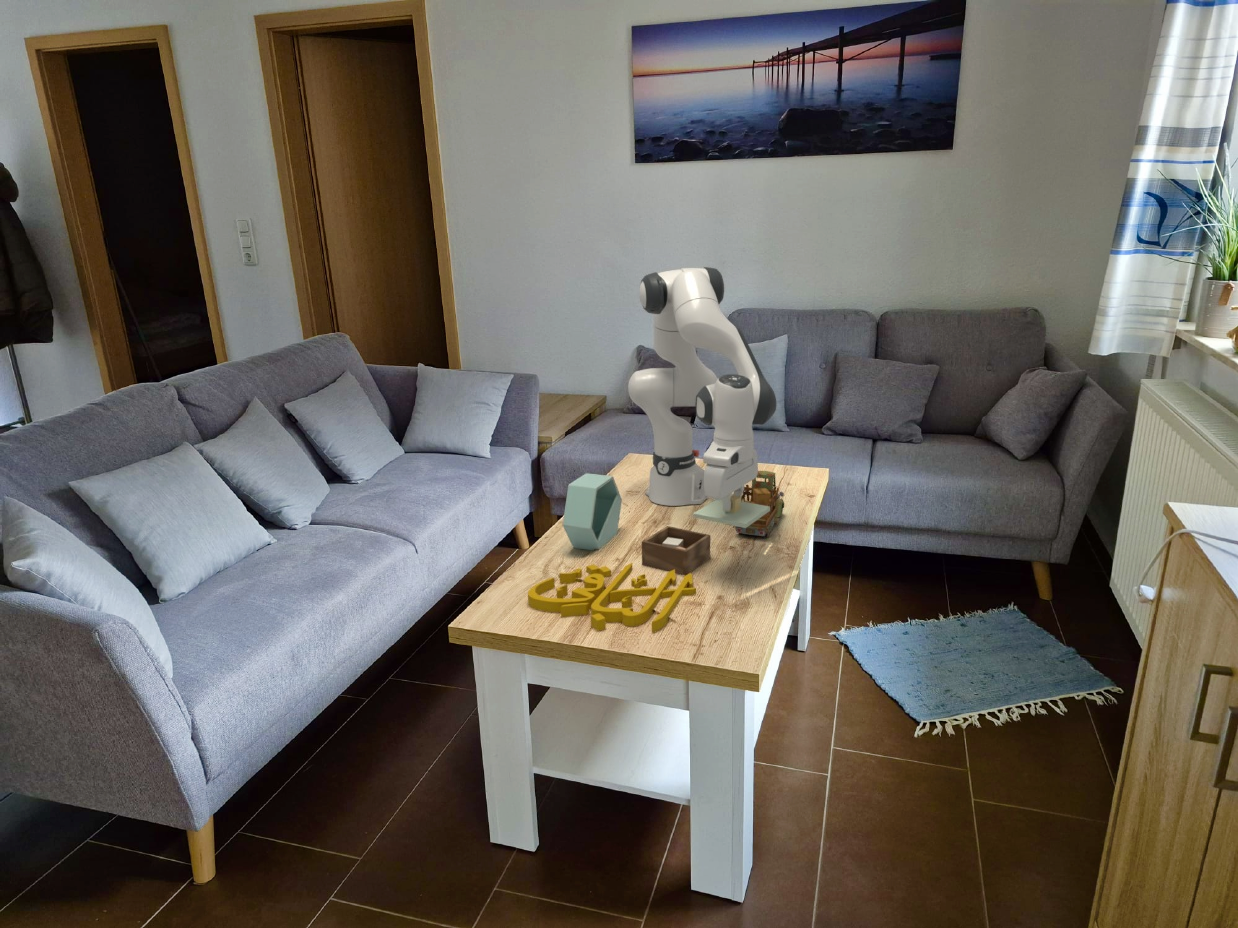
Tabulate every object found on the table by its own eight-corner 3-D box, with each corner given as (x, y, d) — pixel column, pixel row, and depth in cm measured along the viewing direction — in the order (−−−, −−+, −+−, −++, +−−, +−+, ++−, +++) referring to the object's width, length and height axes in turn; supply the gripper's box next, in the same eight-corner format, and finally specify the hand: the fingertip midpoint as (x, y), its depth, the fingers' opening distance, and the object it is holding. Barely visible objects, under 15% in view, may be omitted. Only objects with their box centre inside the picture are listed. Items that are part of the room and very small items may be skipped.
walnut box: (667, 551, 213) (667, 525, 211) (710, 561, 206) (710, 535, 204) (642, 568, 203) (641, 541, 201) (685, 579, 197) (686, 551, 195)
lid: (719, 501, 202) (719, 485, 201) (770, 510, 195) (770, 494, 194) (693, 517, 192) (693, 500, 191) (745, 528, 185) (746, 510, 184)
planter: (605, 564, 218) (584, 515, 203) (578, 559, 221) (555, 511, 206) (626, 512, 227) (608, 462, 212) (600, 508, 230) (580, 459, 215)
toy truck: (789, 514, 237) (791, 463, 233) (769, 547, 215) (771, 491, 211) (751, 510, 241) (752, 459, 237) (728, 542, 219) (729, 486, 214)
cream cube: (668, 552, 210) (668, 537, 209) (683, 554, 209) (683, 539, 207) (662, 558, 207) (662, 543, 205) (677, 560, 205) (677, 545, 204)
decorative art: (511, 603, 181) (575, 552, 207) (512, 615, 182) (575, 563, 208) (658, 632, 168) (707, 574, 194) (658, 645, 169) (707, 585, 195)
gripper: (740, 436, 199) (739, 492, 203) (699, 457, 183) (698, 517, 187) (765, 439, 196) (763, 496, 200) (725, 461, 180) (724, 523, 184)
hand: (731, 507), depth 193 cm, fingers closed on lid, 3 cm apart
